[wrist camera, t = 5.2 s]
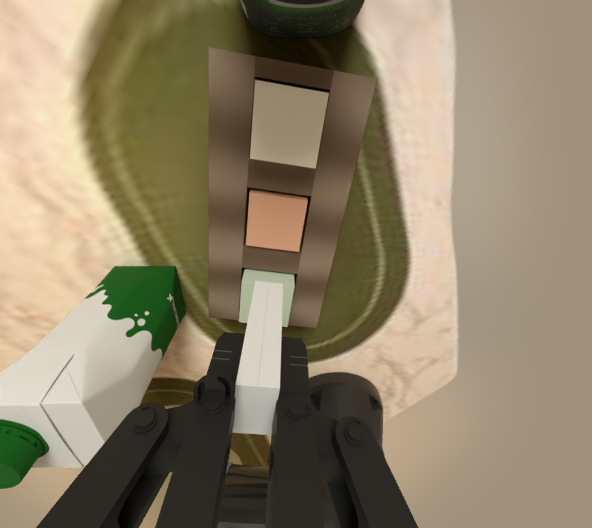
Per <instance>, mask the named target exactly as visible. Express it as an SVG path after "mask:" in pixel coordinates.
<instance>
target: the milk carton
mask: <svg viewBox="0 0 592 528" xmlns="http://www.w3.org/2000/svg"><path fill="white" fill-rule="evenodd" d="M185 313H186V310H185V306H184V302H183V297H182V293H181V289H180V284H179V280H178V276H177V271H176V267H175V266H116V267H114V268H113V269H112V270H111V271H110V272H109V274H108V275H107V276H106V277H105V278H104V279H103V280H102V281H101V283H100V284H99V285H98V286H97V287H96V288H95V289H94V290H93V291H92V292H91V293H90V294H89V295H88V296H87V297H86V298H85V299H84V300H83V301H82V302H81V303H80V304H79V305H78V306H77V307H76V308H74V309H73V310H72V311H71V312H70V313H69V314H68V315H67V316H66V317H65V318H64V319H63V320H62V321H61V322H60V323H59V324H58V325H57V326H56V327H55V328H54V329H52V330H51V331H50V332H49V333H48V334H47V335H46V336H45V337H44V338H43V339H42V340H41V341H40V342H39V343H38V344H37V345H36V346H35V347H33V348H32V349H31V350H30V351H29V352H28V353H26V354H25V355H24V356H23V357H21V358H20V359H19V360H17V361H16V362H15V363H13V364H12V365H10V366H9V367H8V368H6V369H5V370H3V371H2V372H1V373H0V489H3V488H11V487H14V486H16V485H18V484H19V483H20V482H21V481H22V479H23V478H24V477H25V475H26V474H27V473H28V471H29V470H30V468H31V467H67V468H82V467H83V466H84V465H87V464H88V463H89V462H90V460H91V459H92V458H93V457H94V455H95V454H96V453H97V452H98V450H99V449H100V448H101V447H102V445H103V444H104V443H105V442H106V440H107V439H108V438H109V437H110V435H111V434H112V433H113V432H114V430H115V429H116V428H117V427H118V426H119V424H120V423H121V422H122V421H123V419H124V418H125V417H126V416H127V415H128V414H129V413H130V412H131V411H132V410H133V409H135V408H136V407H138V406H139V405H140V403H141V401H142V398H143V396H144V394H145V392H146V390H147V388H148V386H149V384H150V382H151V380H152V378H153V376H154V374H155V372H156V370H157V368H158V366H159V364H160V362H161V360H162V358H163V356H164V354H165V352H166V350H167V347H168V345H169V343H170V341H171V339H172V337H173V335H174V333H175V331H176V329H177V328H178V326H179V324H180V322H181V320H182V319H183V317H184V315H185Z"/></svg>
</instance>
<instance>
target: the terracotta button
mask: <svg viewBox="0 0 592 528" xmlns="http://www.w3.org/2000/svg"><path fill="white" fill-rule="evenodd" d="M307 203H308V199H307V196H306V195H299V194H292V193H285V192H278V191H271V190H264V189H257V188H251V190H250V194H249V208H248V222H247V236H246V245H247V246H255V247H263V248H271V249H279V250H287V251H295V252H299V249H300V243H301V237H302V231H303V226H304V220H305V214H306V208H307Z"/></svg>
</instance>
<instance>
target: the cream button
mask: <svg viewBox="0 0 592 528" xmlns="http://www.w3.org/2000/svg"><path fill="white" fill-rule="evenodd" d="M328 96H329V93H326V92H320V91H315V90H309V89H303V88H298V87H292V86H287V85H281V84H275V83H270V82H264V81H258V80H255V90H254V105H253V120H252V134H251V149H250V159H256V160H262V161H269V162H276V163H282V164H289V165H295V166H302V167H308V168H315V169H316V164H317V158H318V152H319V147H320V141H321V135H322V130H323V124H324V119H325V113H326V107H327V102H328Z"/></svg>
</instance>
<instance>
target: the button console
mask: <svg viewBox="0 0 592 528" xmlns="http://www.w3.org/2000/svg"><path fill="white" fill-rule="evenodd" d="M255 80H258V81H264V82H270V83H275V84H281V85H287V86H292V87H298V88H303V89H309V90H315V91H320V92H326V93H329V96H328V102H327V107H326V113H325V119H324V124H323V130H322V135H321V141H320V147H319V152H318V158H317V164H316V169H315V168H308V167H302V166H295V165H289V164H282V163H276V162H269V161H262V160H256V159H250V149H251V134H252V120H253V105H254V90H255ZM376 81H377V78H372V77H366V76H361V75H356V74H350V73H345V72H340V71H334V70H329V69H323V68H318V67H313V66H307V65H302V64H296V63H291V62H286V61H280V60H275V59H269V58H264V57H259V56H253V55H248V54H243V53H237V52H232V51H226V50H221V49H216V48H210V47H209V317H211V318H221V319H231V320H239V313H240V298H241V283H242V278H243V274H244V270H245V268H251V269H259V270H268V271H276V272H285V273H294V285H295V288H294V293H293V299H292V305H291V310H290V316H289V321H288V325H291V326H301V327H311V328H317V324H318V320H319V315H320V311H321V307H322V303H323V299H324V295H325V291H326V287H327V283H328V278H329V274H330V270H331V266H332V262H333V258H334V254H335V250H336V245H337V241H338V237H339V233H340V229H341V225H342V221H343V217H344V213H345V208H346V204H347V200H348V196H349V192H350V188H351V184H352V180H353V176H354V171H355V167H356V163H357V159H358V155H359V151H360V147H361V143H362V138H363V134H364V130H365V126H366V122H367V118H368V114H369V110H370V106H371V101H372V97H373V93H374V89H375V85H376ZM251 188H257V189H264V190H271V191H278V192H285V193H292V194H299V195H306V196H307V199H308V203H307V208H306V214H305V220H304V226H303V231H302V237H301V243H300V249H299V252H295V251H287V250H279V249H271V248H263V247H255V246H247V245H246V236H247V222H248V208H249V194H250V190H251Z"/></svg>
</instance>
